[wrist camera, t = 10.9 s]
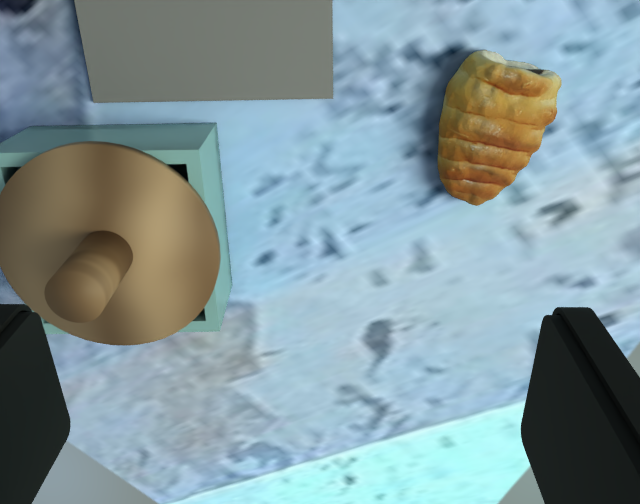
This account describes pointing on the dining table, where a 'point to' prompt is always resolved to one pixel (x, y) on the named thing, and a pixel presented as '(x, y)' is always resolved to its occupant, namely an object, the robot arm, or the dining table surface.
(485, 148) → the pastry
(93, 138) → the green square box
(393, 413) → the dining table surface
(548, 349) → the robot arm
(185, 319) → the lid
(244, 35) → the mat
